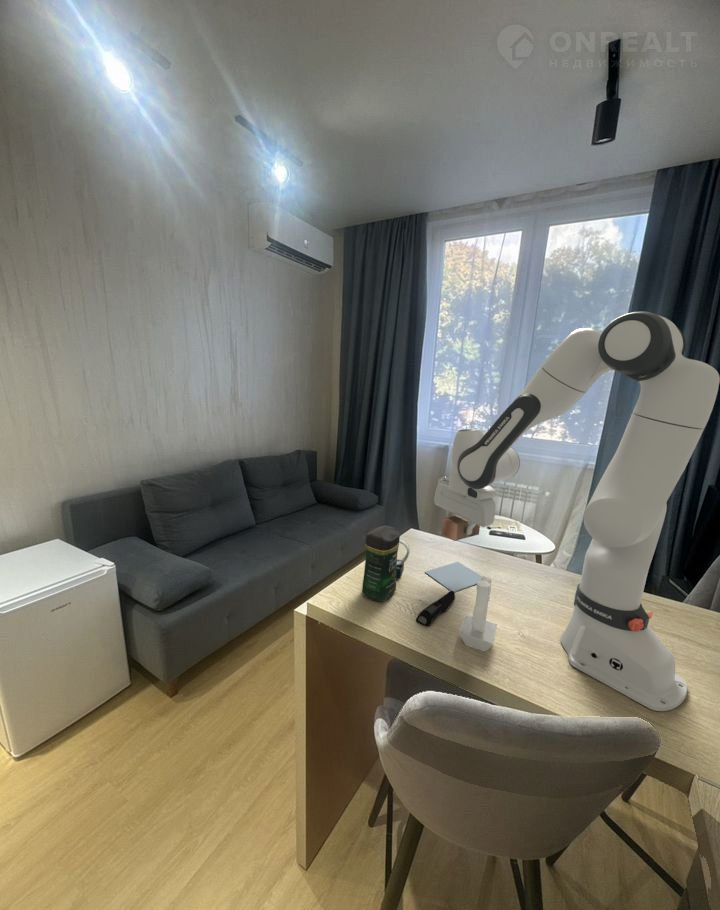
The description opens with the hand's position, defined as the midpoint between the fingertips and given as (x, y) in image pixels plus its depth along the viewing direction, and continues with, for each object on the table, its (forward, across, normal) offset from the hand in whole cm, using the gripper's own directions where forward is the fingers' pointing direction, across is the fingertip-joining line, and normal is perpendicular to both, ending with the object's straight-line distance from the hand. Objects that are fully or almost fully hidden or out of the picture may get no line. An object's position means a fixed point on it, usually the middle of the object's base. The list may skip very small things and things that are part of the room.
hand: (459, 529), depth 109 cm
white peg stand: (+15, +23, -16) cm, 32 cm away
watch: (+15, -10, -15) cm, 24 cm away
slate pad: (+15, 0, 0) cm, 15 cm away
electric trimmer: (+16, +10, -16) cm, 25 cm away
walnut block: (-1, 0, +6) cm, 6 cm away
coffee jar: (+15, -3, -25) cm, 30 cm away
